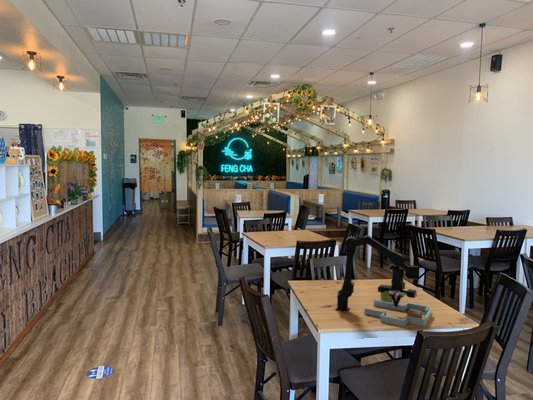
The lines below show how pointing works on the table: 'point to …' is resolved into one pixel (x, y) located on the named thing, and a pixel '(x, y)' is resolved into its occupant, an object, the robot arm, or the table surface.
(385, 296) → the plant pot
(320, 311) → the table surface
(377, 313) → the grey zigzag track
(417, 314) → the block
